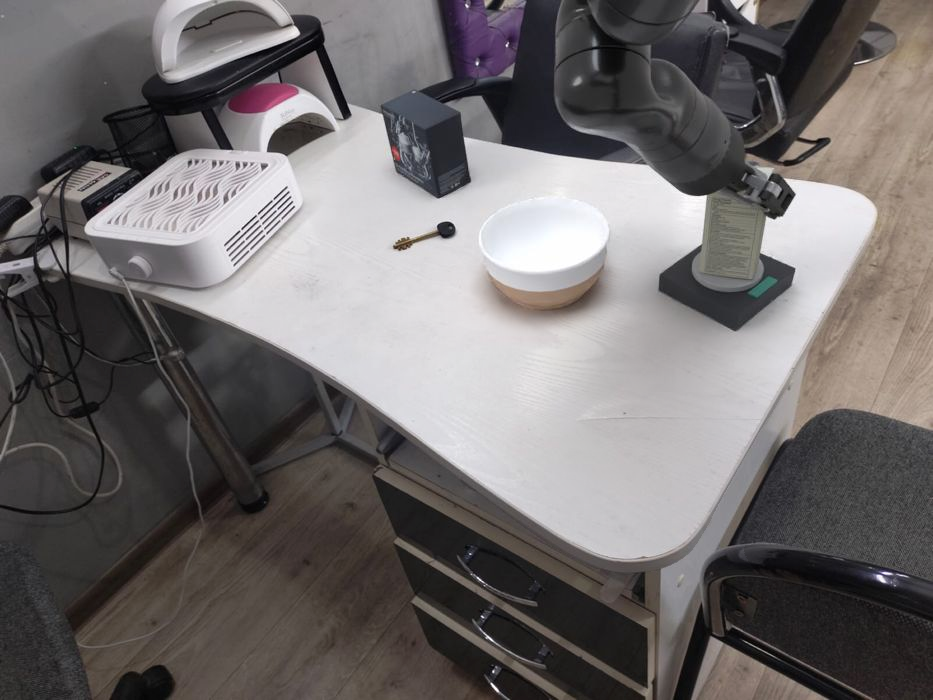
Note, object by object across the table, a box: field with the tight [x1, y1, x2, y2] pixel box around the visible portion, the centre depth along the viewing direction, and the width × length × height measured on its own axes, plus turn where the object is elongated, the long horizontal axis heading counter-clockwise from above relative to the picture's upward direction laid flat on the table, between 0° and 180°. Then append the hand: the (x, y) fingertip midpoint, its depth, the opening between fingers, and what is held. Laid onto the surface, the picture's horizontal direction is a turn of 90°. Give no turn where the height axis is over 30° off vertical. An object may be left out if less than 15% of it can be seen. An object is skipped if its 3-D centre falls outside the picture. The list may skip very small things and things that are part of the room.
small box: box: [380, 88, 472, 199], centre depth 108 cm, size 13×7×12 cm, turn 37°
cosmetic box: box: [699, 165, 775, 280], centre depth 76 cm, size 6×4×12 cm
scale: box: [657, 243, 797, 332], centre depth 82 cm, size 11×11×3 cm
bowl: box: [477, 196, 611, 311], centre depth 86 cm, size 16×16×8 cm
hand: (745, 198), depth 75 cm, fingers closed on cosmetic box, 7 cm apart
